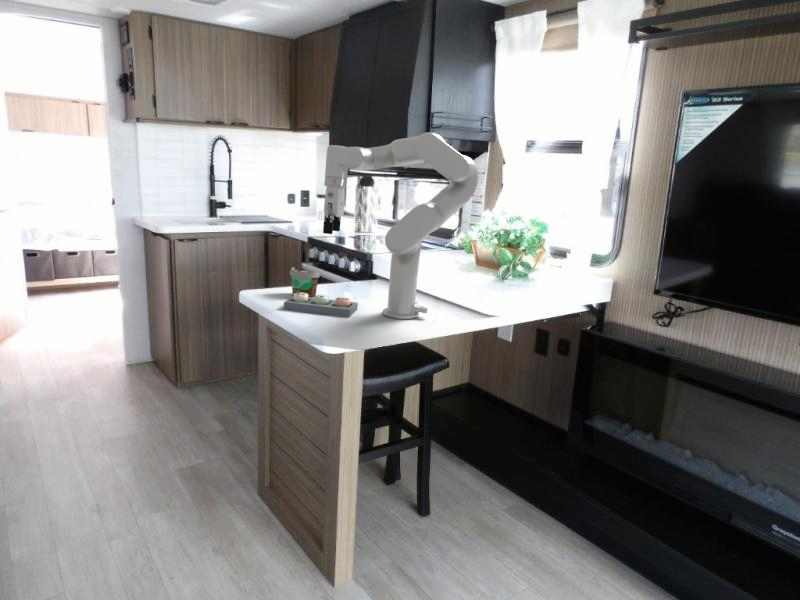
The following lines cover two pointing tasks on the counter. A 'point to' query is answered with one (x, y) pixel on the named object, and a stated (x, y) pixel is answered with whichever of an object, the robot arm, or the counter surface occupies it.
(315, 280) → the food container
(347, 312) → the gray rectangular tray
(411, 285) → the robot arm
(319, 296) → the button one dot
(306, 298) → the button two dot
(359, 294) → the counter surface
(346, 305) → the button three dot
